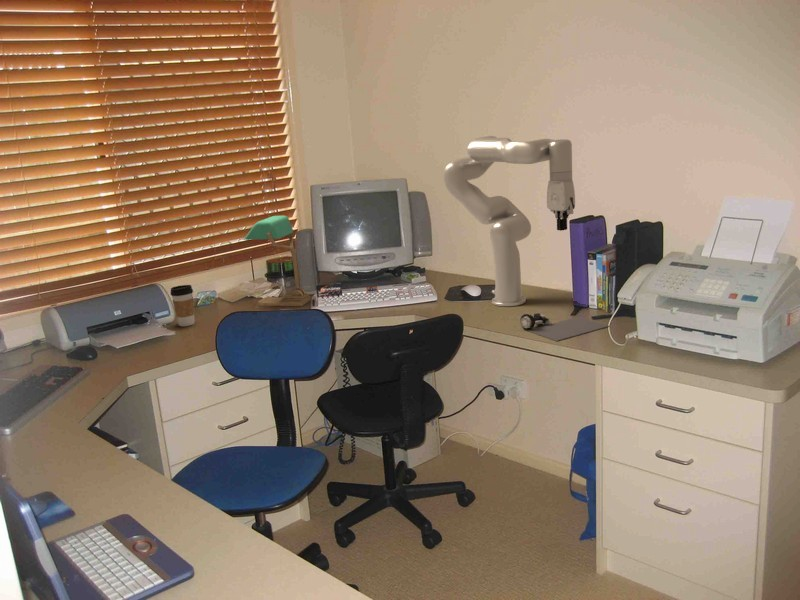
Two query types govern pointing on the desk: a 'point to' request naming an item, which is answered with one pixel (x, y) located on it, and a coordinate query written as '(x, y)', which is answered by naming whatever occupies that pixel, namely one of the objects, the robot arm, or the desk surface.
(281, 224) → the banker's lamp
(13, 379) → the desk surface
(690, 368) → the desk surface
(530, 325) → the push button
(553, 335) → the mat
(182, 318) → the coffee cup
